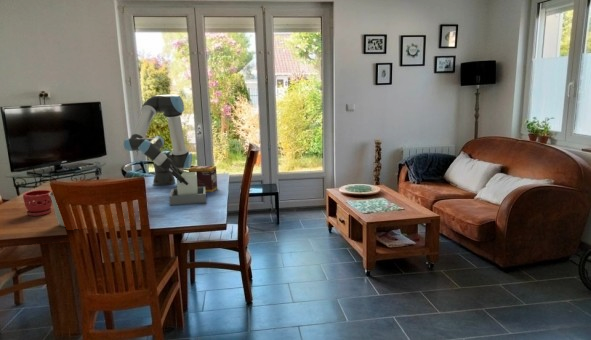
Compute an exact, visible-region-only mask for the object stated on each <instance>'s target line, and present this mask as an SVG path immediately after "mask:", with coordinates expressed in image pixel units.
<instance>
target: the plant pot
mask: <svg viewBox="0 0 591 340" xmlns="http://www.w3.org/2000/svg"><path fill="white" fill-rule="evenodd" d="M52 191H53V190H50V189H46V190H45V189H39V190H31V191H27V192H24V193H23V194H22V198H23V202H24V203H23V204H24V206H25V208H26V209H27V211H26V214H27V215H28V216H32V217H37V216H44V215H48V214H50V213H51V212H52V211H53V209H52V206H53V204H52V200H51V196H49V193H51V192H52Z"/></svg>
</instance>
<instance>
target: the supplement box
mask: <svg viewBox="0 0 591 340" xmlns="http://www.w3.org/2000/svg"><path fill="white" fill-rule="evenodd" d="M188 172H197V187H205V190H206V193H213V192H214V191H215V190H218V176H217V165H194V166H191V167H190V168H189V169H188Z"/></svg>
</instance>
